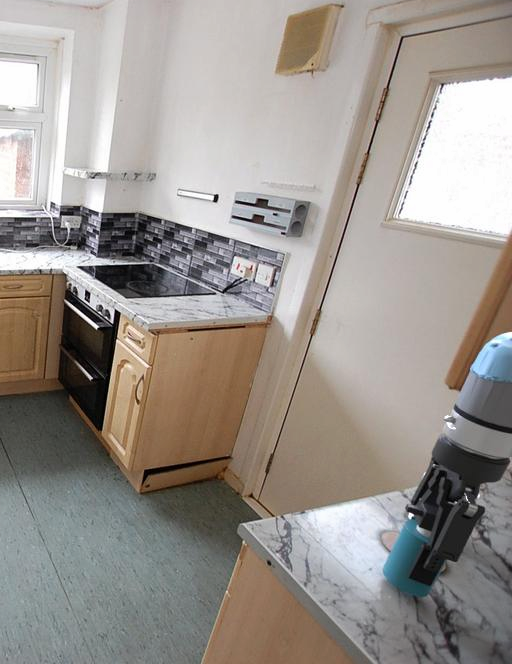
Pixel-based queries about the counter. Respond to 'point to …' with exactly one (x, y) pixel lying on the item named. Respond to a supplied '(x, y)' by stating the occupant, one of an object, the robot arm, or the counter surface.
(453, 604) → the counter surface
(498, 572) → the counter surface
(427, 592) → the spray bottle
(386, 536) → the coaster
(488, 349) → the robot arm
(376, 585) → the counter surface
